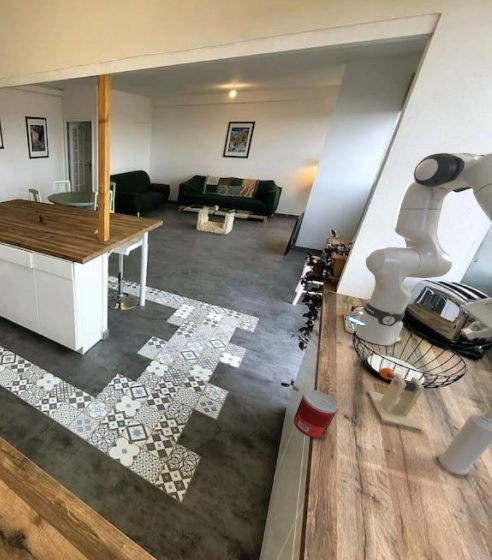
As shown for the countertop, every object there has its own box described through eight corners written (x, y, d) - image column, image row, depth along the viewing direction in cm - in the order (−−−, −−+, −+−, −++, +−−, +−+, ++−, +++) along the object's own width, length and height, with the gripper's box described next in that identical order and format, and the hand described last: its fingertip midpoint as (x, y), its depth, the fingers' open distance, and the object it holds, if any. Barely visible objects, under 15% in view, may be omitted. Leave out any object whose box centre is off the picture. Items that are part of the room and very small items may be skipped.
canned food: (327, 443, 86) (341, 415, 81) (295, 434, 88) (307, 406, 83) (320, 421, 92) (333, 394, 87) (290, 413, 95) (301, 386, 90)
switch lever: (376, 375, 103) (378, 365, 103) (389, 378, 102) (391, 367, 102) (400, 391, 90) (403, 379, 90) (416, 394, 89) (419, 382, 88)
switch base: (366, 393, 102) (382, 363, 96) (400, 401, 99) (419, 371, 93) (380, 422, 92) (399, 390, 86) (419, 432, 89) (441, 400, 83)
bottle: (471, 479, 77) (533, 407, 66) (446, 475, 78) (504, 403, 67) (454, 459, 81) (510, 389, 70) (431, 456, 82) (483, 386, 71)
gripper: (498, 286, 89) (438, 308, 97) (560, 324, 72) (481, 347, 80) (510, 303, 90) (450, 323, 97) (574, 343, 73) (495, 365, 80)
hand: (464, 334), depth 89 cm, fingers closed
